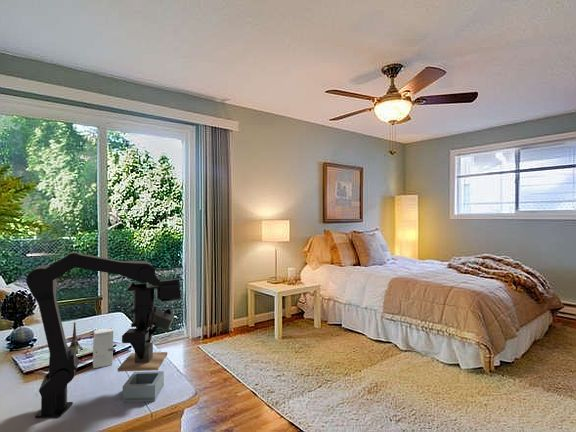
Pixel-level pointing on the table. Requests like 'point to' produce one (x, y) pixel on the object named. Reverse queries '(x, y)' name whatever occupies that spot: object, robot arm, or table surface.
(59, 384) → the robot arm
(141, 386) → the grey open-top tray
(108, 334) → the skincare box
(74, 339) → the eiffel tower figurine
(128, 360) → the lid
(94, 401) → the table surface
